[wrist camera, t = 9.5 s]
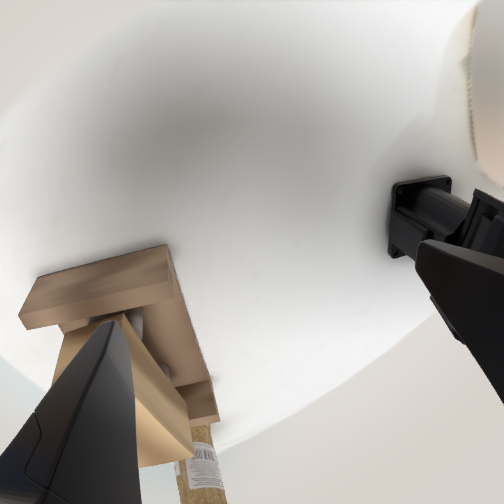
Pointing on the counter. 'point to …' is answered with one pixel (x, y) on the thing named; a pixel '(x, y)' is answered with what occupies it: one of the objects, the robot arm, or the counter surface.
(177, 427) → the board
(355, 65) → the counter surface
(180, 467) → the sprinkles bottle
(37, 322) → the peg cradle
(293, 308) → the counter surface
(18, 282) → the counter surface
